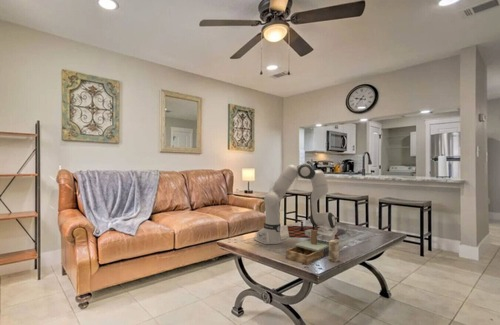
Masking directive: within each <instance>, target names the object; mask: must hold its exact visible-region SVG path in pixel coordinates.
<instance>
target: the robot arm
mask: <svg viewBox="0 0 500 325" xmlns="http://www.w3.org/2000/svg"><path fill="white" fill-rule="evenodd" d="M298 177H299V178H301V179H304V180H305V179H306V180H310V181H311V186H312V192H311V193H310V195H309V208H310V214H309V215H310V217H309V221H310V222H309V223H311V224H313V225H314V226H318V227H320V228H318V230H317V236H316V239H317V240H322V241H327V242H329V241H331V240H336V239H335V234H336V235H337V233H338V226H337V219H336V216H335V215H334V214H333V213H332V212H318V200H319V199H321V198H323V197H325V196H326V195H327V193H328V192H329V187H328V181H327V178H326V175H325V173H324V171H323V170H321V169H316V170H314V168H313V166H312V165H311V164H310V163H307V162H304V163H301V164H299V165H298V166H297V165H295V164H288V165H287V166H286V167H285V168H284V169H283V170H282V171H281V173H280V175H279V176H278V178H277V179H276V180H275V182H274V183H273V184H274V185H273V186H272V188H271V190H269V192H267V193H266V194H265V195H264V199H263V200H264V201H263V202H264V208H265V209H264V210H265V222H264V223H262V226H263V227H262V228H260V229H259V230H258V231H257V233H256V236H255V237H253V240H254V241H257V242H259V243H261V244H264V245H277V244H282V242H283V241H282V235H281V211H280V202H281V201H282V199H283V198H284V197H285V195H286V193H287V192H288V190H289V188H290V187H291V185H292V184H293V183H294V181H295V180H296V179H297V178H298ZM313 225H312V226H313ZM311 230H313V229H309V230H305V235H306V236H310V237H311Z"/></svg>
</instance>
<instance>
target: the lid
mask: <svg viewBox="0 0 500 325" xmlns="http://www.w3.org/2000/svg"><path fill="white" fill-rule="evenodd" d="M316 236H317V230H311V238H306V239H305V240H302V241H300V242H296V243H294V247H295V246H297V247H301V248H305V249H309V250H313V251H316V252H319V251H321V250H323V249H324V250H325V249H327V248H329V241H327V240H322V239H316Z"/></svg>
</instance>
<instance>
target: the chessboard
mask: <svg viewBox="0 0 500 325" xmlns="http://www.w3.org/2000/svg"><path fill="white" fill-rule="evenodd" d="M311 224H312V223H311ZM286 227H287V232H288V237H289V238H298V239H299V238H303V239H310V238H311V237H310V236H306V235H305V230H309V229H313V230H318V228H320V227H321V226H314V225H313V224H312V226H311V225H309V226H308V225H304V221H300V225H287V226H286ZM334 240H340V238H339V236H338V235H337V233H336V234H335V239H334Z"/></svg>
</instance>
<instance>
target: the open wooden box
mask: <svg viewBox="0 0 500 325" xmlns="http://www.w3.org/2000/svg"><path fill="white" fill-rule="evenodd" d="M324 254H325V249H323V250H321V251H319V252H316V251H313V250H309V249H305V248H301V247H297V246H295V245H294V247H291V248H288V249H286V250H285V258H286V259H288V260H292V261H295V262H298V263H302V264H304V265H309V264H312V263H314V262H315V261H318V260H319V259H321V258H323V257H324Z"/></svg>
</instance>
